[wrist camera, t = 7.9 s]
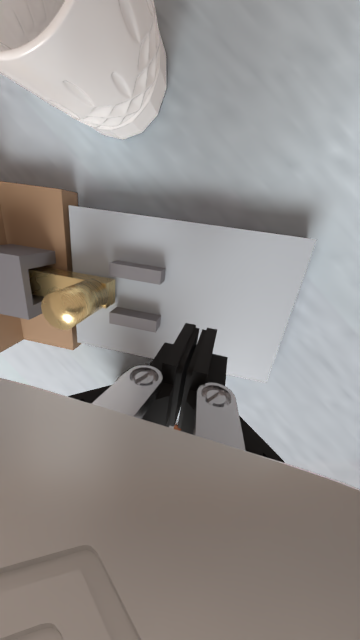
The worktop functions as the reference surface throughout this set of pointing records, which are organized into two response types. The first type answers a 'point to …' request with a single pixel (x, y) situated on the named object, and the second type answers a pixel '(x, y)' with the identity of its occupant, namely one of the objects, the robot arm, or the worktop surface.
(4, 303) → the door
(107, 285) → the bolt
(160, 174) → the worktop surface
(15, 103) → the worktop surface
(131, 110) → the white cup
